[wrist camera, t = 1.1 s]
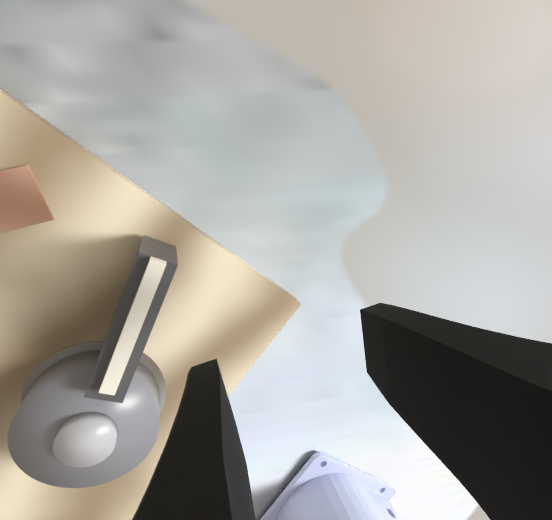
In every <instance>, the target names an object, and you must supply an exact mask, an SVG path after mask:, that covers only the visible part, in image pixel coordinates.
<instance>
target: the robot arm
mask: <svg viewBox="0 0 552 520" xmlns="http://www.w3.org/2000/svg"><path fill="white" fill-rule="evenodd" d="M360 313H361V322H362V331H363V340H364V349H365V359H366V368H367V373H368V374H369V376H370V377H371V379H372V380H373V382H374V383H375V384H376V386H377V387H378V389H379V390H380V392H381V393H382V394H383V396H384V397H385V399H386V400H387V401H388V403H389V404H390V405H391V406H392V407H393V409H394V410H395V411H396V412H397V413H398V414H399V415H400V416H401V417H402V419H403V420H404V421H405V422H406V423H407V424H408V425H409V426H410V427H411V429H412V430H413V431H414V432H415V433H416V434H417V435H418V436H419V437H420V438H421V440H422V441H423V442H424V443H425V444H426V445H427V446H428V447H429V448H430V449H431V450H432V452H433V453H434V454H435V455H436V456H437V457H438V458H439V459H440V460H441V461H442V462H443V464H444V465H445V466H446V467H447V468H448V469H449V470H450V471H451V472H452V473H453V475H454V476H455V477H456V478H457V479H458V480H459V481H460V482H461V484H462V485H463V486H464V487H465V488H466V489H467V491H468V492H469V493H470V494H471V495H472V496H473V498H474V499H475V500H476V501H477V503H478V504H479V505H480V507H481V508H482V509H483V510H484V512H485V513H486V514H487V516H488V517H489V518H490V519H491V520H552V344H551V343H545V342H540V341H534V340H530V339H525V338H519V337H515V336H511V335H506V334H502V333H497V332H493V331H488V330H484V329H480V328H476V327H472V326H468V325H464V324H461V323H457V322H453V321H449V320H446V319H441V318H438V317H435V316H430V315H427V314H423V313H420V312H416V311H413V310H409V309H405V308H401V307H397V306H393V305H388V304H383V303H379V304H376V305H373V306H370V307H367V308H364V309H361V310H360ZM394 492H395V490H394V488H393V487H392V485H390V484H388V483H385V482H383V481H381V480H379V479H377V478H375V477H373V476H370V475H368V474H366V473H364V472H362V471H360V470H358V469H355V468H353V467H351V466H349V465H347V464H345V463H342V462H340V461H338V460H336V459H334V458H332V457H330V456H327V455H325V454H323V453H321V452H316V453H314V454H313V455H312V456H311V457H310V459H309V460H308V461H307V462H306V464H305V465H304V466H303V467H302V468H301V470H300V471H299V472H298V473H297V475H296V476H295V477H294V478H293V480H292V481H291V482H290V483H289V484H288V486H287V487H286V488H285V489H284V491H283V492H282V493H281V494H280V495H279V497H278V498H277V499H276V500H275V502H274V503H273V504H272V505H271V507H270V508H269V509H268V510H267V511H266V513H265V514H264V515H263V516H262V518H261V519H260V520H401V519H400V517H399V516H398V514H397V513H396V511H395V510H394V508H393V507H392V505H391V503H390V502H389V499H390V498H391V497H392V496H393V495H394ZM132 520H255V514H254V508H253V501H252V495H251V489H250V483H249V477H248V471H247V465H246V461H245V457H244V453H243V449H242V445H241V442H240V438H239V434H238V430H237V426H236V423H235V419H234V416H233V412H232V409H231V406H230V402H229V399H228V395H227V392H226V389H225V385H224V382H223V379H222V375H221V372H220V368H219V365H218V362H217V358H216V359H213V360H210V361H208V362H205V363H202V364H199V365H196V366H193V367H191V369H190V370H189V372H188V375H187V380H186V384H185V388H184V392H183V395H182V398H181V402H180V405H179V408H178V411H177V414H176V417H175V419H174V422H173V425H172V428H171V431H170V433H169V436H168V439H167V442H166V444H165V447H164V449H163V452H162V454H161V456H160V459H159V461H158V463H157V466H156V468H155V471H154V473H153V475H152V478H151V480H150V482H149V485H148V487H147V489H146V491H145V494H144V496H143V498H142V500H141V502H140V504H139V506H138V509H137V511H136V513H135V515H134V517H133V519H132Z"/></svg>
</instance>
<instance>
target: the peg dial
mask: <svg viewBox="0 0 552 520" xmlns="http://www.w3.org/2000/svg"><path fill="white" fill-rule="evenodd" d="M177 266H178V260H177V249H176V246H174V245H171V244H168V243H166V242H163V241H160V240H157V239H154V238H151V237H148V236H145V235H144V236H143V239H142V241H141V244H140V246H139V249H138V252H137V254H136V257H135V260H134V262H133V265H132V268H131V270H130V273H129V275H128V278H127V281H126V283H125V286H124V289H123V291H122V294H121V297H120V299H119V302H118V304H117V307H116V310H115V312H114V315H113V318H112V320H111V323H110V326H109V328H108V331H107V333H106V336H105V339H104V341H103V344H102V347H101V349H100V351H89V352H83V353H79V354H75V355H72V356H69V357H66V358H64V359H62V360H60V361H58V362H56V363H54V364H53V365H51V366H50V367H48V368H47V369H46V370H45V371H44V372H43V373H41V375H40V376H39V377H38V378H37V379H36V380H35V382H34V384H33V385H32V387H31V388H30V390H29V392H28V393H27V395H26V397H25V398H24V400H23V402H22V403H21V405H20V407H19V408H18V410H17V412H16V414H15V415H14V417H13V419H12V421H11V424H10V426H9V430H8V439H7V442H8V449H9V452H10V455H11V457H12V459H13V460H14V462H15V464H16V465H17V466H18V467H19V468H20V469H21V470H22V471H23V472H24V473H25V474H27V475H28V476H30V477H31V478H33V479H35V480H37V481H39V482H41V483H44V484H47V485H51V486H56V487H62V488H85V487H91V486H97V485H100V484H104V483H107V482H110V481H113V480H115V479H117V478H119V477H121V476H123V475H125V474H126V473H128V472H130V471H131V470H133V469H134V468H135V467H137V466H138V465H139V464H140V463H141V462H142V461H143V460H144V459H145V458H146V457H147V455H148V454H149V453H150V451H151V450H152V448H153V446H154V444H155V442H156V439H157V436H158V432H159V416H160V390H159V386H158V383H157V381H156V379H155V377H154V375H153V374H152V373H151V371H150V370H149V369H148V368H147V367H146V366H145V365H143V364H142V363H141V362H139V361H140V358H141V356H142V353H143V351H144V349H145V346H146V344H147V341H148V339H149V336H150V334H151V331H152V329H153V326H154V324H155V321H156V319H157V316H158V314H159V311H160V309H161V306H162V304H163V301H164V299H165V296H166V294H167V291H168V289H169V286H170V284H171V281H172V279H173V276H174V274H175V271H176V269H177Z"/></svg>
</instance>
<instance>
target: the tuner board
mask: <svg viewBox="0 0 552 520" xmlns="http://www.w3.org/2000/svg"><path fill="white" fill-rule="evenodd" d="M144 235H145V236H148V237H151V238H154V239H157V240H160V241H163V242H166V243H168V244H171V245H174V246H176V249H177V260H178V266H177V269H176V271H175V274H174V276H173V279H172V281H171V284H170V286H169V289H168V291H167V294H166V296H165V299H164V301H163V304H162V306H161V309H160V311H159V314H158V316H157V319H156V321H155V324H154V326H153V329H152V331H151V334H150V336H149V339H148V341H147V344H146V346H145V349H144V351H143V353H142V356H141V358H140V361H139V362H141V363H142V364H143V365H145V366H146V367H147V368H148V369H149V370H150V371H151V373H152V374H153V375H154V377H155V379H156V381H157V383H158V386H159V390H160V416H159V432H158V436H157V439H156V442H155V444H154V446H153V448H152V450H151V451H150V453H149V454H148V455H147V457H146V458H145V459H144V460H143V461H142V462H141V463H140V464H139V465H138V466H137V467H135V468H134V469H133V470H131V471H130V472H128V473H126V474H125V475H123V476H121V477H119V478H117V479H115V480H113V481H110V482H107V483H104V484H100V485H97V486H91V487H85V488H62V487H56V486H51V485H47V484H44V483H41V482H39V481H37V480H35V479H33V478H31V477H30V476H28V475H27V474H25V473H24V472H23V471H22V470H21V469H20V468H19V467H18V466H17V465H16V464H15V462H14V460H13V459H12V457H11V455H10V452H9V449H8V442H7V439H8V430H9V426H10V424H11V421H12V419H13V417H14V415H15V414H16V412H17V410H18V408H19V407H20V405H21V403H22V402H23V400H24V398H25V397H26V395H27V393H28V392H29V390H30V388H31V387H32V385H33V384H34V382H35V380H36V379H37V378H38V377H39V376H40V375H41V373H43V372H44V371H45V370H46V369H47V368H48V367H50V366H51V365H53V364H54V363H56V362H58V361H60V360H62V359H64V358H66V357H69V356H72V355H75V354H79V353H83V352H89V351H100V349H101V347H102V344H103V341H104V339H105V336H106V333H107V331H108V328H109V326H110V323H111V320H112V318H113V315H114V312H115V310H116V307H117V304H118V302H119V299H120V297H121V294H122V291H123V289H124V286H125V283H126V281H127V278H128V275H129V273H130V270H131V268H132V265H133V262H134V260H135V257H136V254H137V252H138V249H139V246H140V244H141V241H142V239H143V236H144ZM300 305H301V304H300V303H299V301H298V300H297V299H296V298H295V297H293V296H292V295H291V294H289V293H288V292H286V291H285V290H284V289H282V288H281V287H279V286H278V285H277V284H275V283H274V282H272V281H271V280H270V279H268V278H267V277H265V276H264V275H263V274H261V273H260V272H258V271H257V270H255V269H254V268H253V267H251V266H250V265H248V264H247V263H246V262H244V261H243V260H241V259H240V258H239V257H237V256H236V255H234V254H233V253H232V252H230V251H229V250H227V249H226V248H224V247H223V246H222V245H220V244H219V243H217V242H216V241H215V240H213V239H212V238H210V237H209V236H208V235H206V234H205V233H203V232H202V231H201V230H199V229H198V228H196V227H195V226H194V225H192V224H191V223H189V222H188V221H186V220H185V219H184V218H182V217H181V216H179V215H178V214H177V213H175V212H174V211H172V210H171V209H170V208H168V207H167V206H165V205H164V204H163V203H161V202H160V201H158V200H157V199H155V198H154V197H153V196H151V195H150V194H148V193H147V192H146V191H144V190H143V189H141V188H140V187H139V186H137V185H136V184H134V183H133V182H132V181H130V180H129V179H127V178H126V177H125V176H123V175H122V174H120V173H119V172H117V171H116V170H115V169H113V168H112V167H110V166H109V165H108V164H106V163H105V162H103V161H102V160H101V159H99V158H98V157H96V156H95V155H94V154H92V153H91V152H89V151H88V150H86V149H85V148H84V147H82V146H81V145H79V144H78V143H77V142H75V141H74V140H72V139H71V138H70V137H68V136H67V135H65V134H64V133H63V132H61V131H60V130H58V129H57V128H56V127H54V126H53V125H51V124H50V123H48V122H47V121H46V120H44V119H43V118H41V117H40V116H39V115H37V114H36V113H34V112H33V111H32V110H30V109H29V108H27V107H26V106H25V105H23V104H22V103H20V102H19V101H17V100H16V99H15V98H13V97H12V96H10V95H9V94H8V93H6V92H5V91H3V90H2V89H1V88H0V520H131V519H132V517H133V516H134V515H135V513H136V511H137V509H138V506H139V504H140V502H141V500H142V498H143V496H144V494H145V491H146V489H147V487H148V485H149V482H150V480H151V478H152V475H153V473H154V471H155V468H156V466H157V463H158V461H159V459H160V456H161V454H162V452H163V449H164V447H165V444H166V442H167V439H168V436H169V433H170V431H171V428H172V425H173V422H174V419H175V417H176V414H177V411H178V408H179V405H180V402H181V398H182V395H183V392H184V388H185V384H186V380H187V375H188V372H189V370H190V369H191V367H193V366H196V365H199V364H202V363H205V362H208V361H210V360H213V359H216V358H217V362H218V365H219V368H220V372H221V375H222V379H223V382H224V385H225V389H226V392H227V395H228V396H229V395H230V394H231V392H232V391H233V390H234V388H235V387H236V386H237V385H238V383H239V382H240V381H241V380H242V378H243V377H244V376H245V375H246V373H247V372H248V371H249V370H250V368H251V367H252V366H253V364H254V363H255V362H256V361H257V359H258V358H259V357H260V356H261V354H262V353H263V352H264V351H265V349H266V348H267V347H268V346H269V344H270V343H271V342H272V340H273V339H274V338H275V337H276V335H277V334H278V333H279V332H280V330H281V329H282V328H283V327H284V325H285V324H286V323H287V322H288V320H289V319H290V318H291V316H292V315H293V314H294V313H295V311H296V310H297V309H298V308H299V306H300Z"/></svg>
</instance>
